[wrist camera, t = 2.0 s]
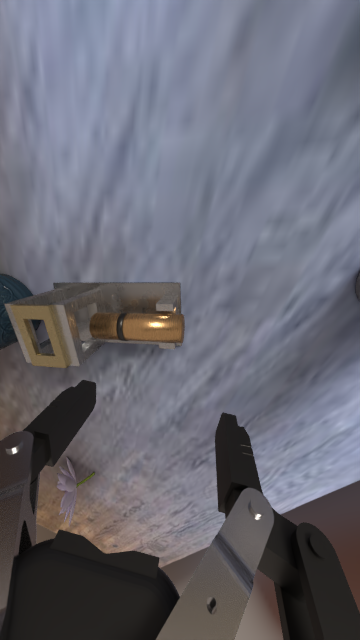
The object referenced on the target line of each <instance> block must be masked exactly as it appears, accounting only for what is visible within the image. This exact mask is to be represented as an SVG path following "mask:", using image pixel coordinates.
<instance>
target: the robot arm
mask: <svg viewBox="0 0 360 640" xmlns="http://www.w3.org/2000/svg"><path fill="white" fill-rule="evenodd" d="M356 294H357V297H358V299H359V300H360V273H359V276H358V278H357V282H356ZM95 403H96V383H95V382H90V381H86V380H82V381H81V382H80V383H79V384H78V385H77V386H76V387H70V388H68V389H66V390H65V391H63V392H62V393H61V394H60V395H59V396H58V397H57V398H56V399H55V400H53V401H52V402H51V403H50V404H49V406H47V407H46V408H45V409H44V410H43V411H42V412H41V413H40V414H39V415H38V416H37V417H36V418H35V419H34V420H33V421H32V422H31V423H30V424H29V425H28V426H27V427H26V428H25V429H24V430H23V431H19V432H15V433H13V434H10V435H8V436H7V437H5V438H4V439H2V440H1V441H0V640H234V639H235V636H236V633H237V630H238V628H239V625H240V622H241V619H242V616H243V614H244V611H245V608H246V606H247V603H248V600H249V597H250V594H251V591H252V588H253V578H254V575H255V572H256V570H257V569H259V570H260V571H261V572H262V573H264V574H265V575H266V576H268V577H269V578H270V579H272V580H273V581H274V585H275V591H276V597H277V603H278V608H279V615H280V621H281V627H282V633H283V638H284V640H360V613H359V610H358V608H357V605H356V603H355V600H354V598H353V595H352V592H351V590H350V587H349V585H348V582H347V580H346V577H345V575H344V572H343V569H342V567H341V565H340V562H339V559H338V557H337V554H336V552H335V550H334V548H333V546H332V544H331V543H330V541H329V540H328V539H327V538H326V536H325V535H324V534H323V533H322V532H321V531H320V530H319V529H318V528H316V527H315V526H313V525H312V524H309V523H301V524H299V525H298V526H296V525H295V524H293V523H292V522H290V521H289V520H287V519H286V518H284V517H283V516H281V515H280V514H278V513H277V512H276V511H275V510H274V509H273V508H272V507H271V505H270V503H269V502H268V500H267V499H266V497H265V496H264V495H263V492H262V489H261V485H260V481H259V477H258V472H257V468H256V464H255V459H254V456H253V451H252V448H251V442H250V438H249V435H248V434H247V432H246V430H245V429H244V427H240V426H238V424H237V419H236V416H235V415H231V414H227V413H222V415H221V418H220V421H219V424H218V427H217V430H216V435H215V450H216V471H217V491H218V511H219V512H223V513H225V517H226V520H225V522H224V524H223V525H222V527H221V529H220V530H219V532H218V534H217V535H216V536H215V538H214V540H213V541H212V543H211V545H210V546H209V548H208V550H207V552H206V553H205V555H204V557H203V559H202V560H201V562H200V564H199V566H198V567H197V569H196V571H195V572H194V574H193V576H192V578H191V579H190V581H189V583H188V585H187V586H186V588H185V590H184V592H183V593H182V595H181V597H180V596H179V594H178V592H177V590H176V588H175V586H174V584H173V583H172V581H171V580H170V578H169V577H168V576H167V575H166V574H165V572H164V571H163V570H161V569H160V568H159V567H158V564H159V558H158V557H155V556H151V555H148V554H144V553H141V552H137V551H127V552H119V553H110V554H105V553H103V552H102V551H101V550H99V549H98V548H97V547H96V546H95V545H93V544H92V543H91V542H90V541H88V540H87V539H86V538H85V537H84V536H81V535H77V534H74V533H70V532H67V531H63V530H60V529H59V531H58V533H57V535H56V537H55V539H50V540H46V541H43V542H41V543H38V544H36V514H37V503H38V491H39V480H40V472H41V470H42V469H43V468H44V466H45V465H48V466H51V467H53V466H54V465H55V464H56V462H57V461H58V459H59V458H60V456H61V455H62V454H63V452H64V451H65V449H66V448H67V446H68V445H69V444H70V442H71V441H72V439H73V438H74V436H75V435H76V434H77V432H78V431H79V429H80V428H81V427H82V425H83V424H84V422H85V421H86V419H87V418H88V417H89V415H90V414H91V412H92V411H93V409H94V407H95Z"/></svg>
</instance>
